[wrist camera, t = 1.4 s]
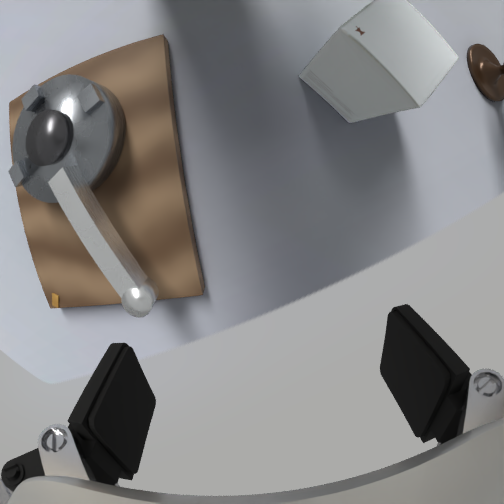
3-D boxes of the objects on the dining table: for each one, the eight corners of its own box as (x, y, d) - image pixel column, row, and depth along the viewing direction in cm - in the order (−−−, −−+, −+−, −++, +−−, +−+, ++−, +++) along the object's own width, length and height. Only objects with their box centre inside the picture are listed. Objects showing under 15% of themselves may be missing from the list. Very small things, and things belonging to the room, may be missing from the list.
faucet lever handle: (22, 133, 21) (-16, 134, 15) (96, 60, 20) (63, 42, 13) (123, 305, 28) (100, 340, 22) (212, 253, 27) (204, 283, 21)
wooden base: (18, 103, 22) (8, 102, 19) (167, 41, 22) (162, 33, 19) (57, 301, 30) (49, 309, 28) (204, 286, 30) (202, 295, 28)
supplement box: (349, 125, 25) (420, 112, 13) (296, 76, 24) (336, 24, 12) (387, 85, 24) (462, 59, 12) (339, 37, 22) (392, -16, 10)
